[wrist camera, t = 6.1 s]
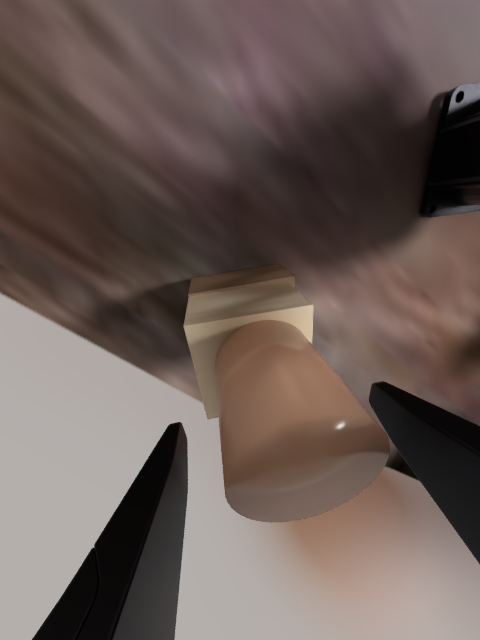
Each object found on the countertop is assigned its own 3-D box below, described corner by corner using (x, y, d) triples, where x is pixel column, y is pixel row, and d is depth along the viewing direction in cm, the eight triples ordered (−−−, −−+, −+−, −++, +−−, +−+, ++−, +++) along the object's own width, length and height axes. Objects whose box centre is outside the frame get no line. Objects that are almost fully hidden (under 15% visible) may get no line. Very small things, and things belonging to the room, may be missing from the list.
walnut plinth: (276, 263, 16) (294, 275, 13) (281, 335, 18) (296, 361, 15) (191, 277, 15) (188, 294, 12) (208, 350, 18) (209, 379, 15)
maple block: (286, 281, 13) (313, 304, 9) (288, 360, 15) (309, 398, 12) (188, 296, 12) (183, 326, 9) (206, 375, 15) (207, 419, 12)
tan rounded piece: (312, 312, 10) (407, 398, 5) (308, 391, 12) (374, 500, 7) (206, 329, 9) (211, 439, 5) (221, 408, 11) (235, 536, 7)
